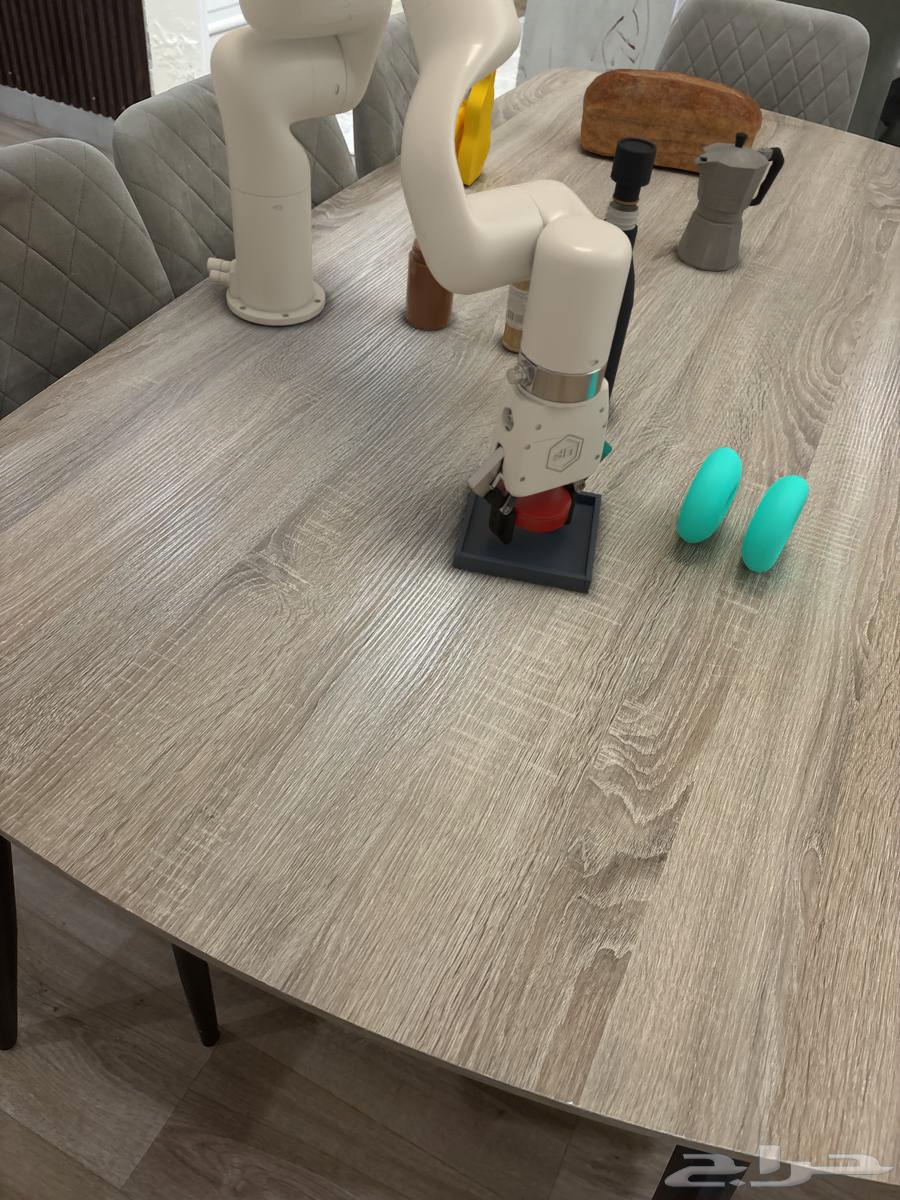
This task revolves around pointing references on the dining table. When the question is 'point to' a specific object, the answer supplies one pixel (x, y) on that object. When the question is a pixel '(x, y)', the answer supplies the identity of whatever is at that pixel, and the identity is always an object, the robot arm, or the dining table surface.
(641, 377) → the dining table surface
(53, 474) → the dining table surface
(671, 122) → the bread
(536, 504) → the jar lid
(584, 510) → the slate tray
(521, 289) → the spice jar
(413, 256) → the jam jar
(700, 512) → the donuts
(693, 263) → the coffeepot
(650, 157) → the black bottle
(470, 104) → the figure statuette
